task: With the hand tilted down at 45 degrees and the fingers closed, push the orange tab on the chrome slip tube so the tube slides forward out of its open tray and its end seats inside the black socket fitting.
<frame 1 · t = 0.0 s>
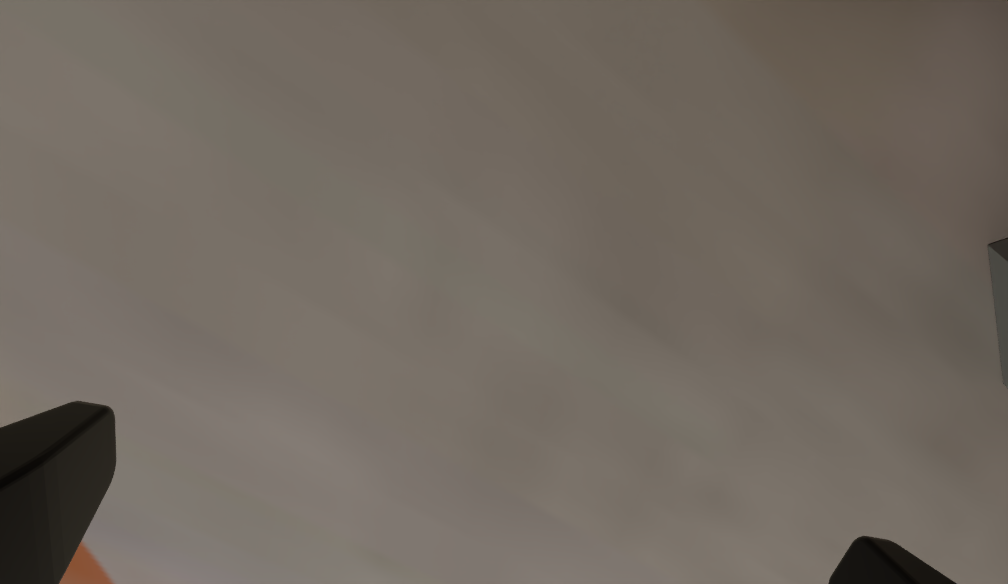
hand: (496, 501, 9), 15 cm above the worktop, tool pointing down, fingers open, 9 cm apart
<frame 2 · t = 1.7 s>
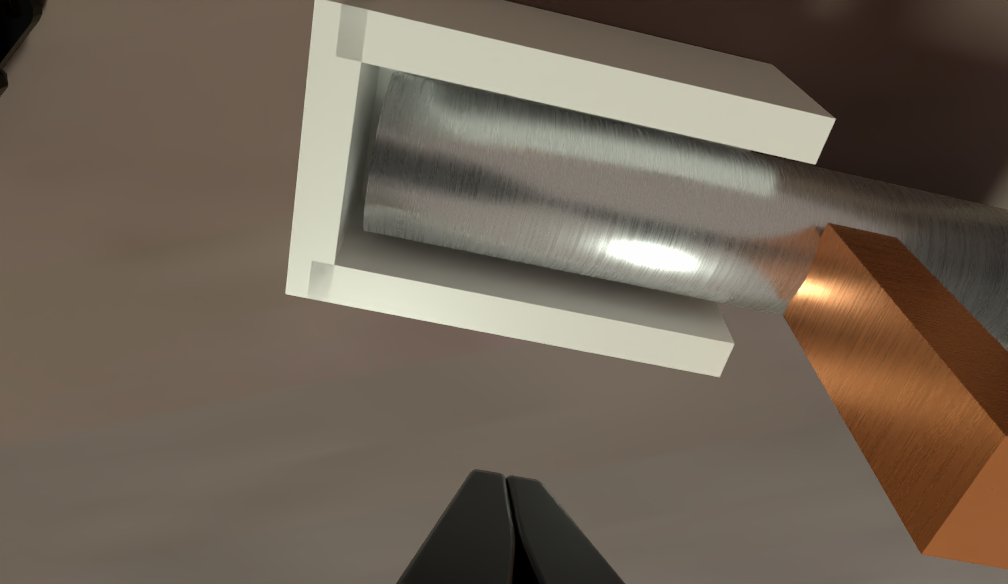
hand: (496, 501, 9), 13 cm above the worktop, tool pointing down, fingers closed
slip tube: (754, 295, 16), point 6 cm above the worktop, slide at 0.0 cm
open tray: (654, 168, 21), on the worktop
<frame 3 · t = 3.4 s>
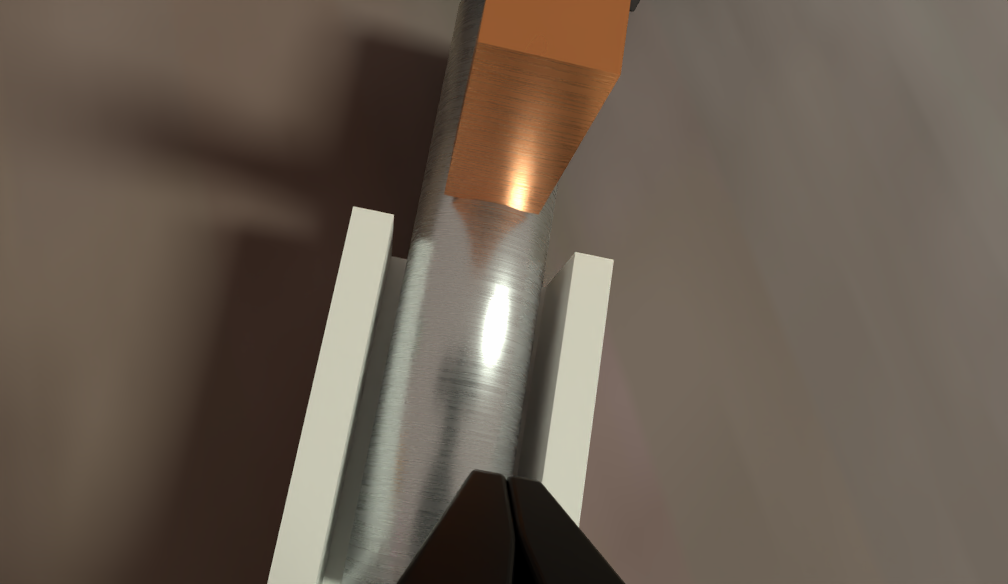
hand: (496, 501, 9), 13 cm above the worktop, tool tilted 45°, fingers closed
slip tube: (489, 248, 17), point 6 cm above the worktop, slide at 0.0 cm
open tray: (455, 343, 23), on the worktop
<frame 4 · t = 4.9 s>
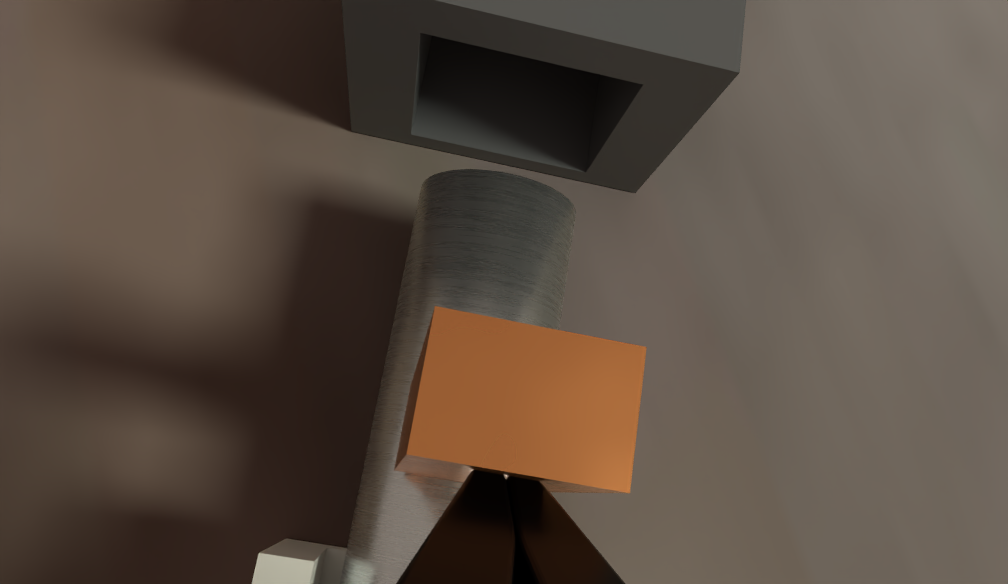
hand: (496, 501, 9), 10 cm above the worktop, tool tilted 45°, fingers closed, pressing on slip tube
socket: (513, 67, 22), on the worktop
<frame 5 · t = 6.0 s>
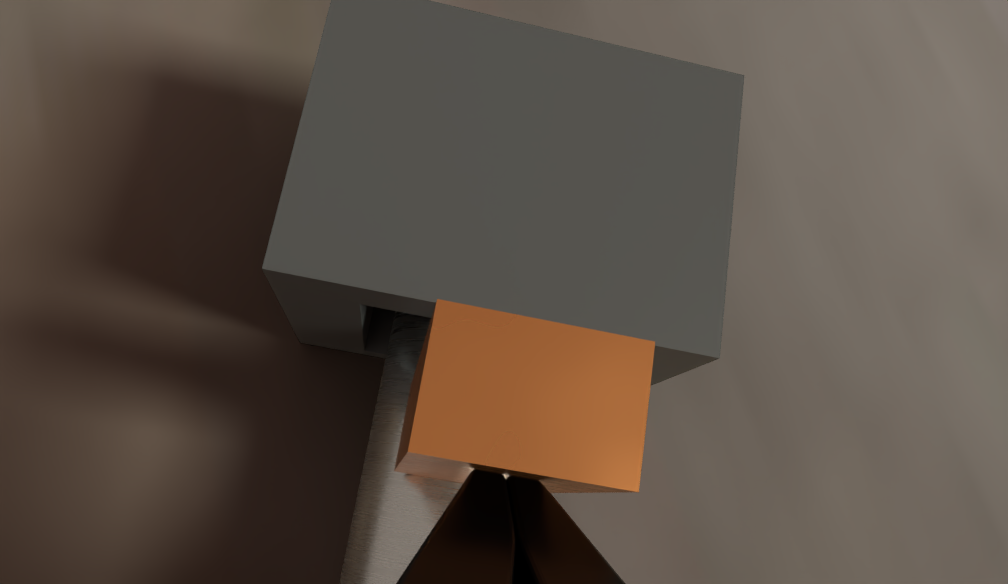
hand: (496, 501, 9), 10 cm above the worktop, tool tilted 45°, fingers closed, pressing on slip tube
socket: (479, 260, 20), on the worktop
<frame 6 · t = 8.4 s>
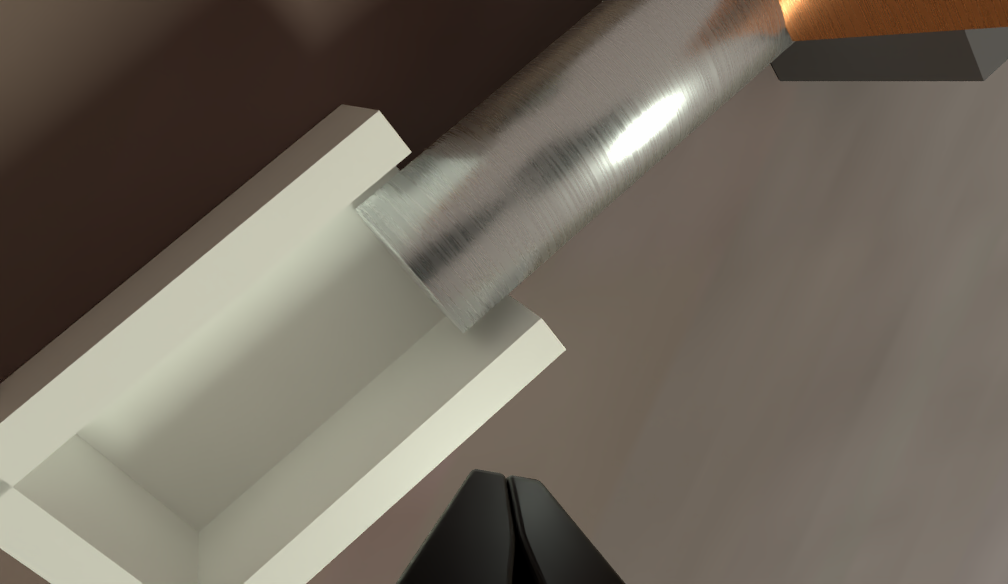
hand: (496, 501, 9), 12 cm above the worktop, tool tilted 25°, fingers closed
slip tube: (766, 39, 15), point 6 cm above the worktop, slide at 7.5 cm
open tray: (365, 259, 20), on the worktop
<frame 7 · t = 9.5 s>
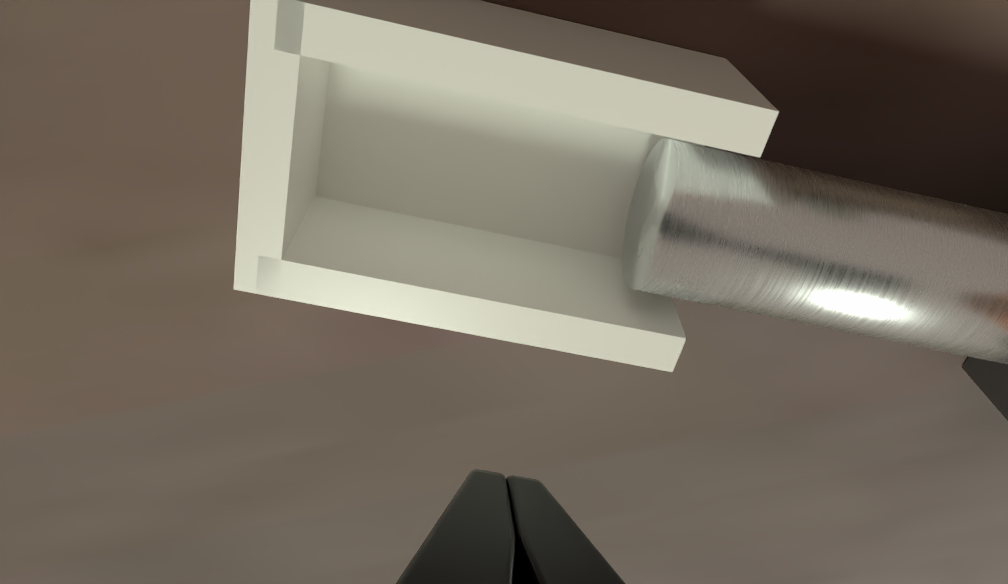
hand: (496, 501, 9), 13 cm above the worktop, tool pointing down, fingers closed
open tray: (611, 163, 21), on the worktop
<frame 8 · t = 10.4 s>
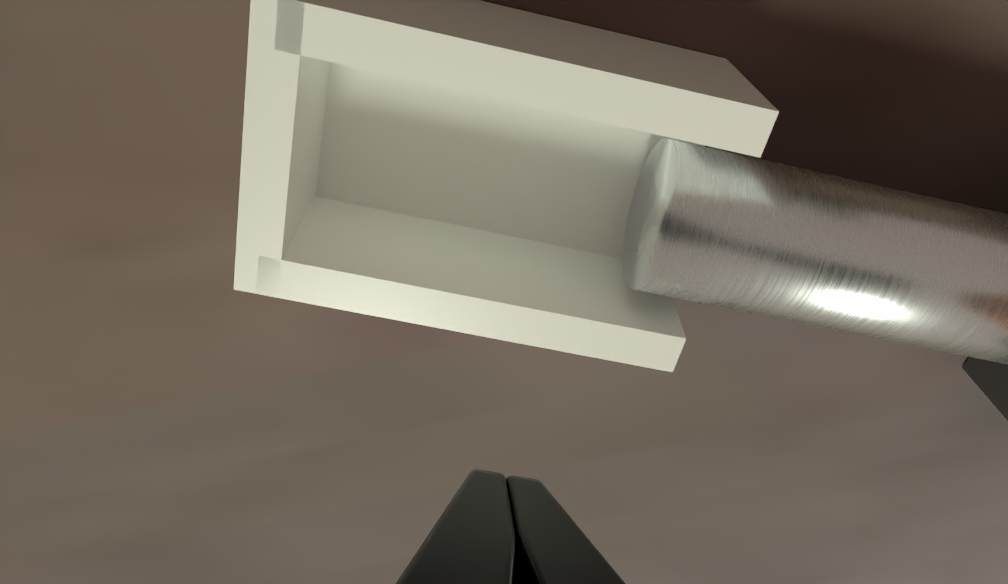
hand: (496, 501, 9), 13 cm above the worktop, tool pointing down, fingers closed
open tray: (611, 163, 21), on the worktop
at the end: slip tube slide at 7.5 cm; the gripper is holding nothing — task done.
